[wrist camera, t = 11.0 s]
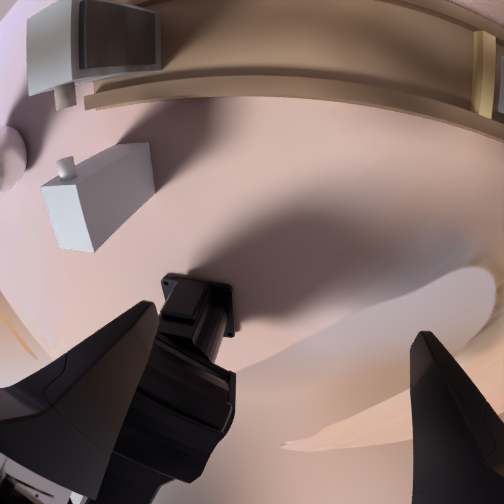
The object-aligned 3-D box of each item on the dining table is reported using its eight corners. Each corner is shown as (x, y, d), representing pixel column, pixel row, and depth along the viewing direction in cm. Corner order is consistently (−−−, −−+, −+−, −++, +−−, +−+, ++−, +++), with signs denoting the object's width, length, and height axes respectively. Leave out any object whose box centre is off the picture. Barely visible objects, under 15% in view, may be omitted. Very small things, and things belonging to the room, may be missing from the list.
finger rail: (530, 153, 13) (608, 209, 5) (105, 107, 17) (8, 144, 10) (539, 59, 8) (624, 79, 1) (102, 10, 13) (2, 7, 5)
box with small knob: (147, 127, 18) (71, 163, 12) (155, 193, 21) (94, 252, 14) (109, 131, 19) (32, 168, 12) (119, 192, 21) (55, 247, 15)
